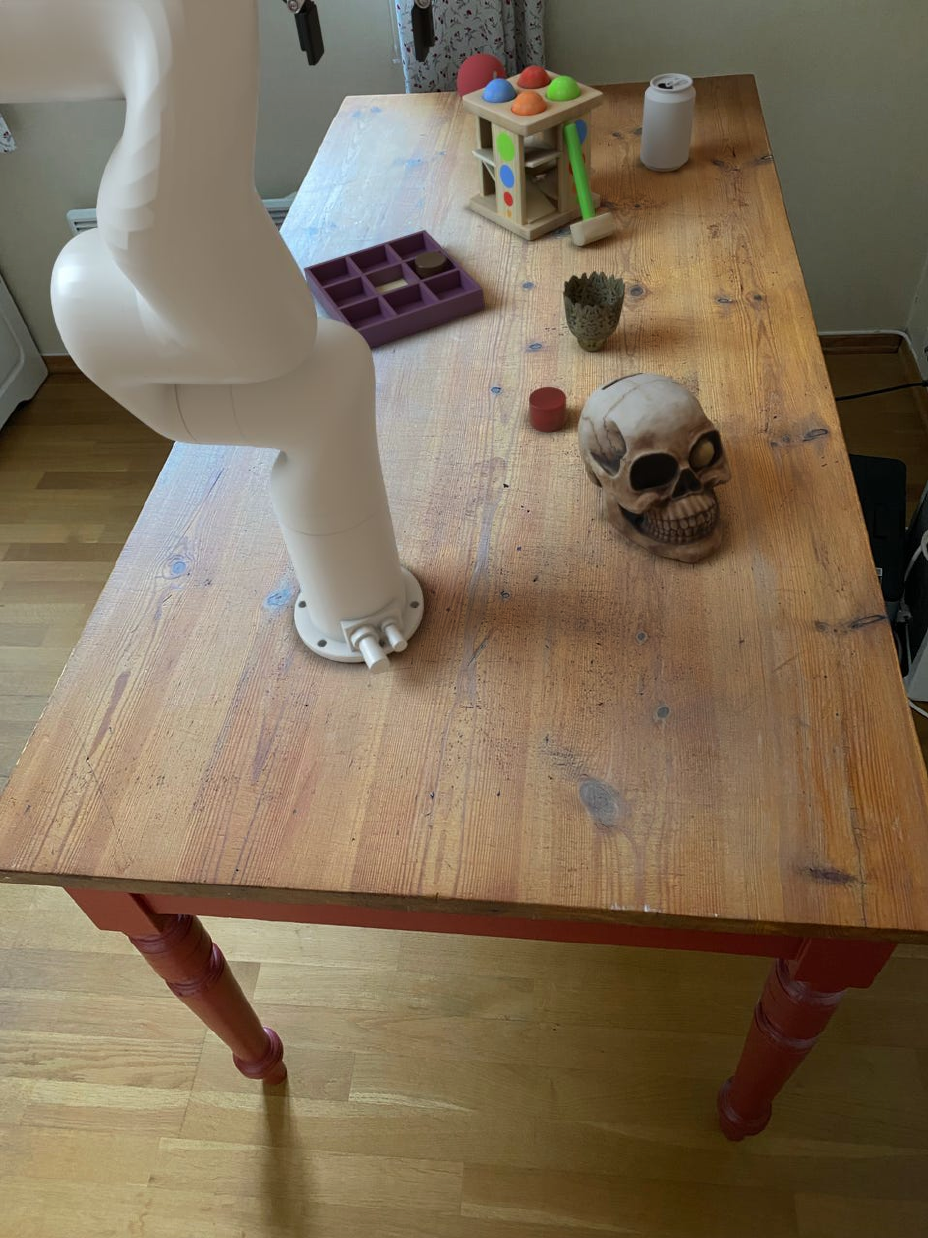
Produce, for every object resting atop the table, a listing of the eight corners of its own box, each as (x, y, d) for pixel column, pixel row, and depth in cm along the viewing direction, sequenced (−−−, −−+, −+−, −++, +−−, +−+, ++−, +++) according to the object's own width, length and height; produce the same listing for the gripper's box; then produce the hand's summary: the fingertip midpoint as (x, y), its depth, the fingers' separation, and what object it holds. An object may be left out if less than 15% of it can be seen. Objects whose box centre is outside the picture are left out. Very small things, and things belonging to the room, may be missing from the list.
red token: (572, 424, 102) (573, 401, 100) (540, 436, 101) (540, 414, 99) (554, 404, 105) (554, 382, 102) (523, 416, 104) (522, 394, 101)
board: (484, 309, 119) (483, 288, 116) (356, 353, 115) (352, 333, 112) (427, 249, 130) (424, 229, 127) (308, 287, 126) (303, 267, 123)
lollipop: (457, 165, 146) (448, 63, 134) (470, 144, 150) (463, 44, 139) (502, 168, 144) (497, 65, 132) (514, 147, 148) (511, 45, 137)
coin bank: (706, 571, 86) (712, 459, 77) (547, 531, 94) (534, 425, 85) (756, 476, 95) (768, 365, 86) (606, 447, 103) (601, 342, 93)
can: (630, 160, 142) (636, 77, 133) (670, 148, 144) (678, 65, 135) (656, 178, 138) (664, 94, 128) (697, 165, 139) (707, 81, 130)
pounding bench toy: (642, 226, 129) (652, 92, 115) (568, 263, 124) (570, 128, 110) (538, 176, 141) (537, 49, 127) (468, 208, 136) (458, 80, 123)
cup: (618, 364, 109) (622, 305, 103) (558, 361, 110) (559, 302, 104) (624, 329, 113) (628, 271, 107) (566, 326, 115) (567, 268, 108)
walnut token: (452, 283, 122) (450, 261, 120) (425, 292, 121) (422, 270, 119) (440, 269, 125) (437, 248, 122) (412, 278, 124) (410, 257, 121)
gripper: (204, -184, 64) (264, 77, 77) (440, -202, 61) (460, 72, 75) (235, -206, 69) (287, 45, 82) (456, -223, 66) (472, 38, 79)
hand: (369, 57), depth 78 cm, fingers open, 9 cm apart
